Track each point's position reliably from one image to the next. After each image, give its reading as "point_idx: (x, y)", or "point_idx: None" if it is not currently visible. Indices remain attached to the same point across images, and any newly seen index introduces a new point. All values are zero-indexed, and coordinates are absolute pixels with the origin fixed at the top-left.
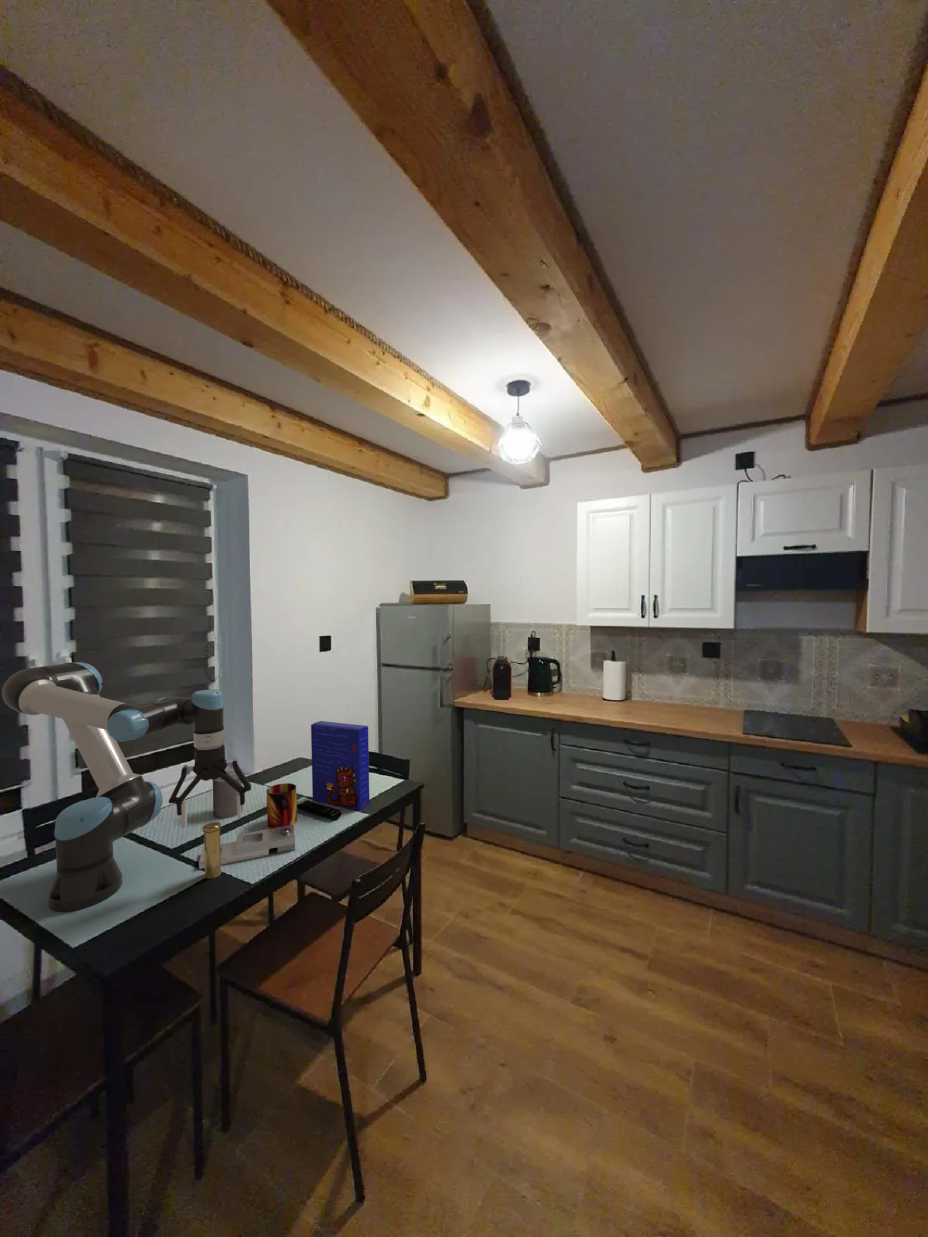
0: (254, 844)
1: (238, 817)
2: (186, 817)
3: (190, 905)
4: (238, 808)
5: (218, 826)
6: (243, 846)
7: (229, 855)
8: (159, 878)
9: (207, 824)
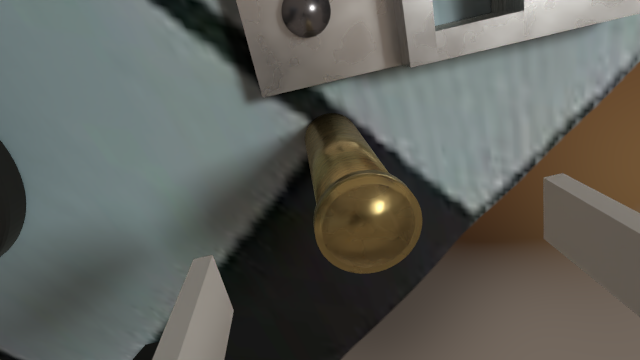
0: (491, 43)
1: (552, 240)
2: (206, 294)
3: (317, 287)
4: (602, 276)
5: (413, 243)
6: (443, 53)
7: (375, 59)
8: (134, 129)
9: (334, 205)
